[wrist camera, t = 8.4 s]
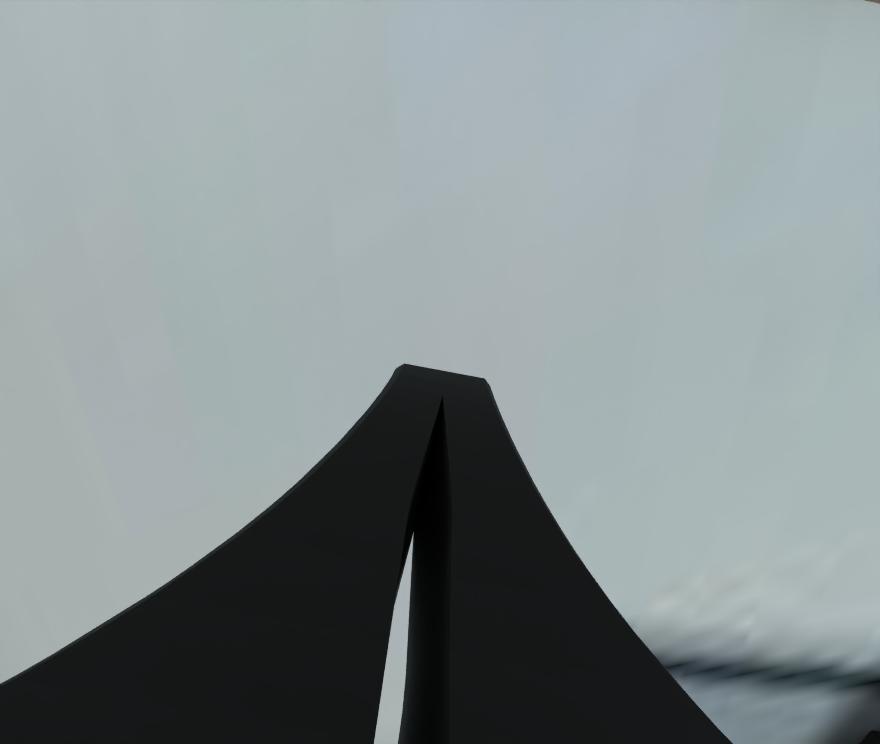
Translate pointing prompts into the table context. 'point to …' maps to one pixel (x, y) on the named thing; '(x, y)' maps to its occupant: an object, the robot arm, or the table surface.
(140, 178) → the table surface
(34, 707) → the robot arm
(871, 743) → the digital camera
